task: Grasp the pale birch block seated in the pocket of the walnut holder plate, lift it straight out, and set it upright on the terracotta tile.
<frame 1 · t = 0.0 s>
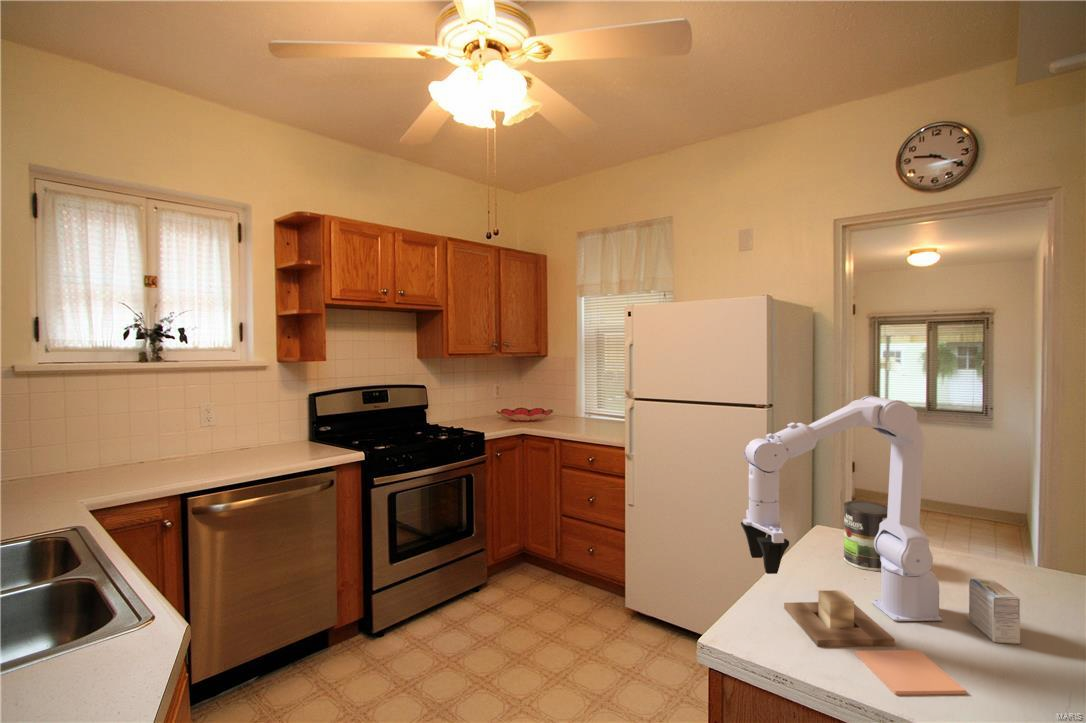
hand: (763, 564, 110), 10 cm above the counter, fingers open, 7 cm apart
coffee can: (867, 563, 134), on the counter
tile: (907, 672, 90), on the counter
medicine box: (993, 633, 102), on the counter
pocket plate: (835, 625, 106), on the counter
birch block: (835, 626, 106), resting in pocket plate
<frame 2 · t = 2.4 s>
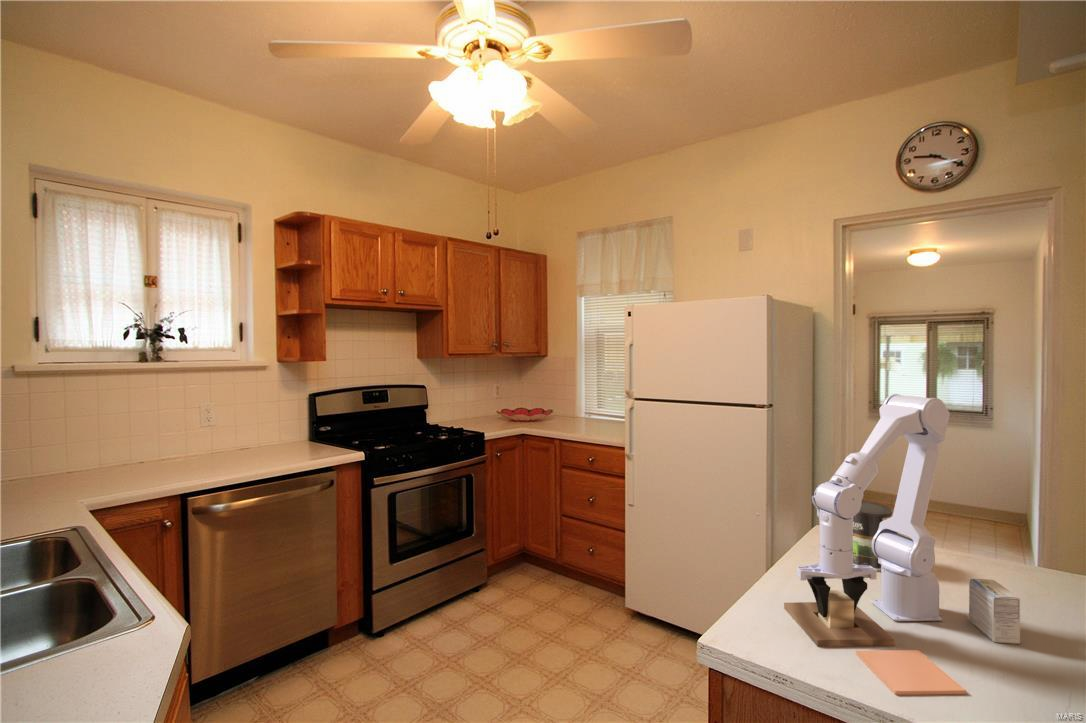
hand: (835, 614, 105), 2 cm above the counter, fingers closed on birch block, 4 cm apart
birch block: (835, 625, 106), resting in pocket plate, touching gripper
everything else where it was.
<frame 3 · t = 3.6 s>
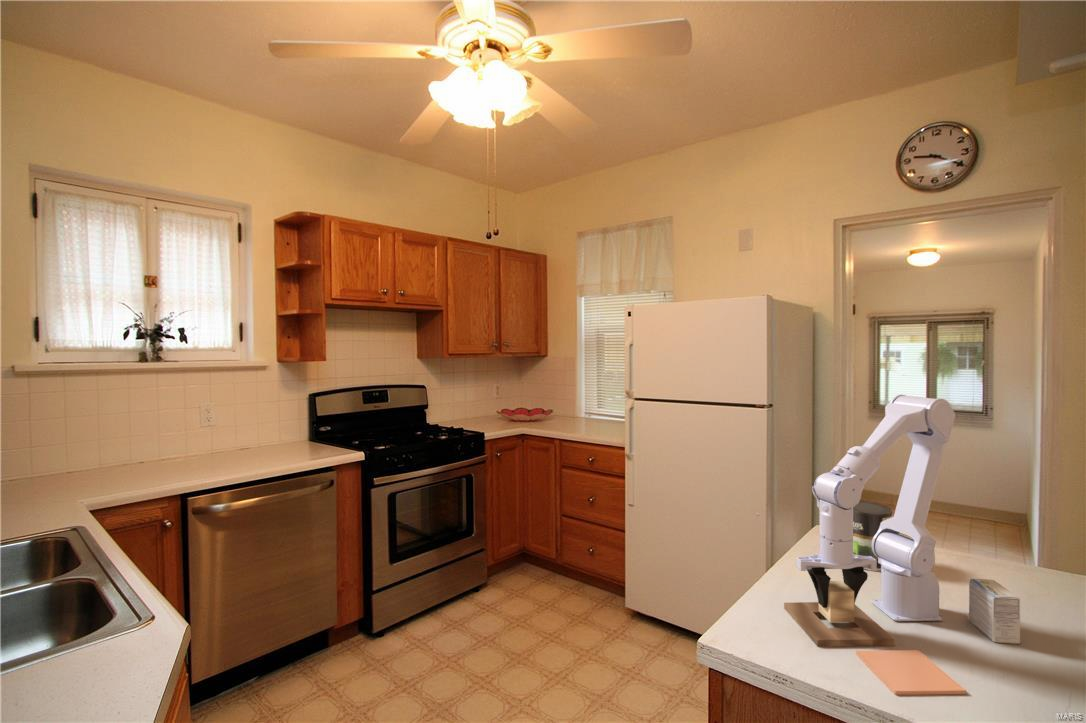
hand: (836, 605, 105), 4 cm above the counter, fingers closed on birch block, 4 cm apart
birch block: (835, 616, 105), point 2 cm above the counter, touching gripper
everything else where it was.
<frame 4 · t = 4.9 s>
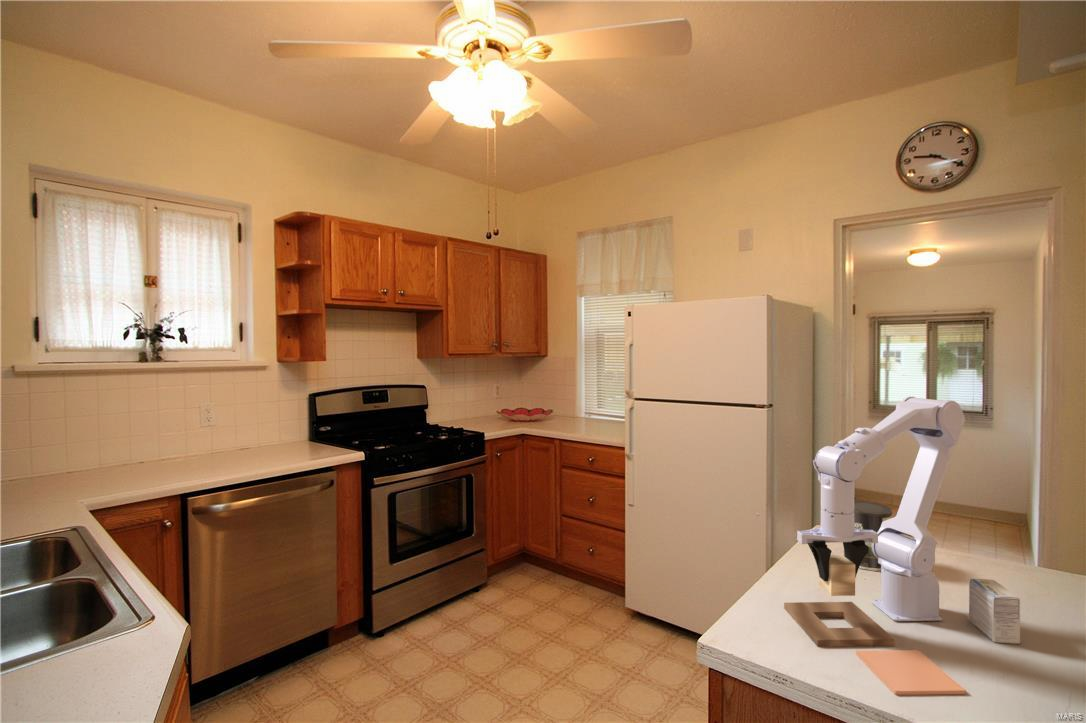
hand: (837, 578, 105), 9 cm above the counter, fingers closed on birch block, 4 cm apart
birch block: (836, 590, 105), point 7 cm above the counter, touching gripper
everything else where it was.
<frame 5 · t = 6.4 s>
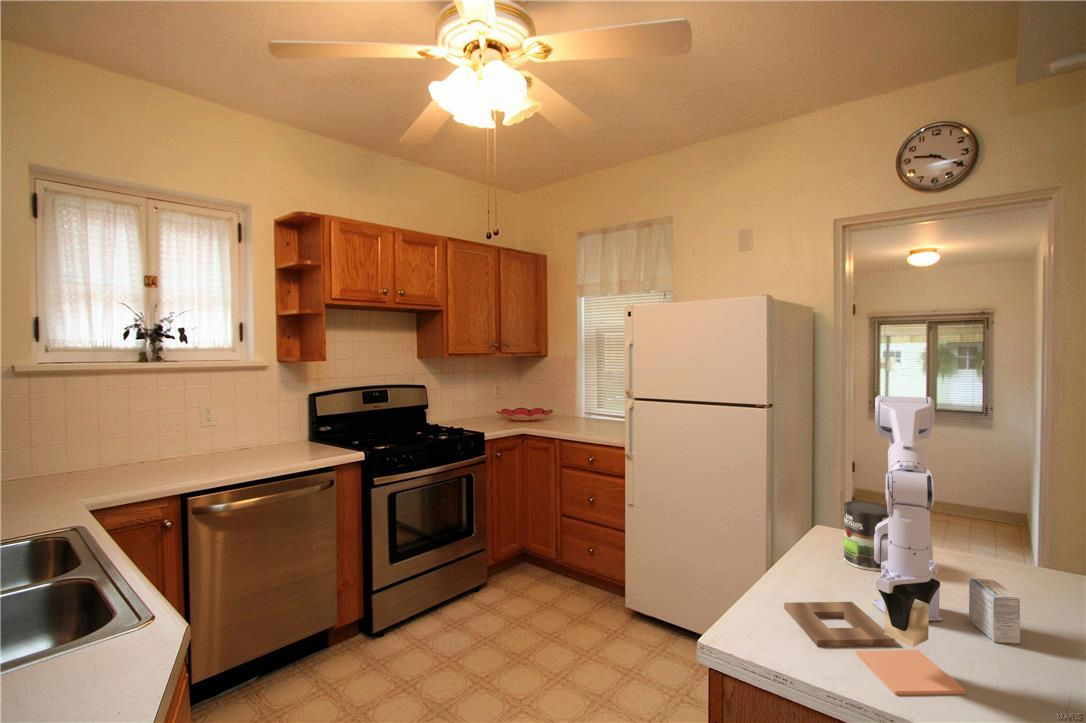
hand: (907, 624, 90), 8 cm above the counter, fingers closed on birch block, 4 cm apart
birch block: (906, 636, 90), point 6 cm above the counter, touching gripper
everything else where it was.
when the fingers open (4 cm above the counter, at t = 7.5 s): birch block drops 1 cm, resting on tile.
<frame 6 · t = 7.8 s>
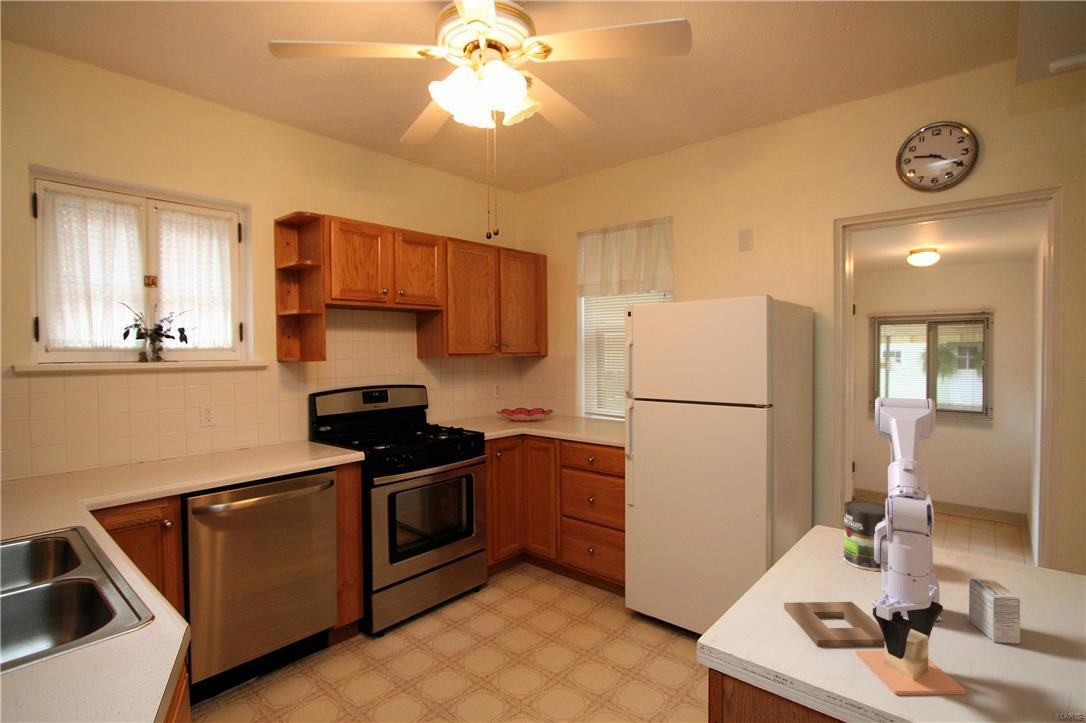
hand: (907, 649, 90), 4 cm above the counter, fingers open, 6 cm apart
birch block: (906, 668, 91), point 1 cm above the counter, touching tile
everything else where it was.
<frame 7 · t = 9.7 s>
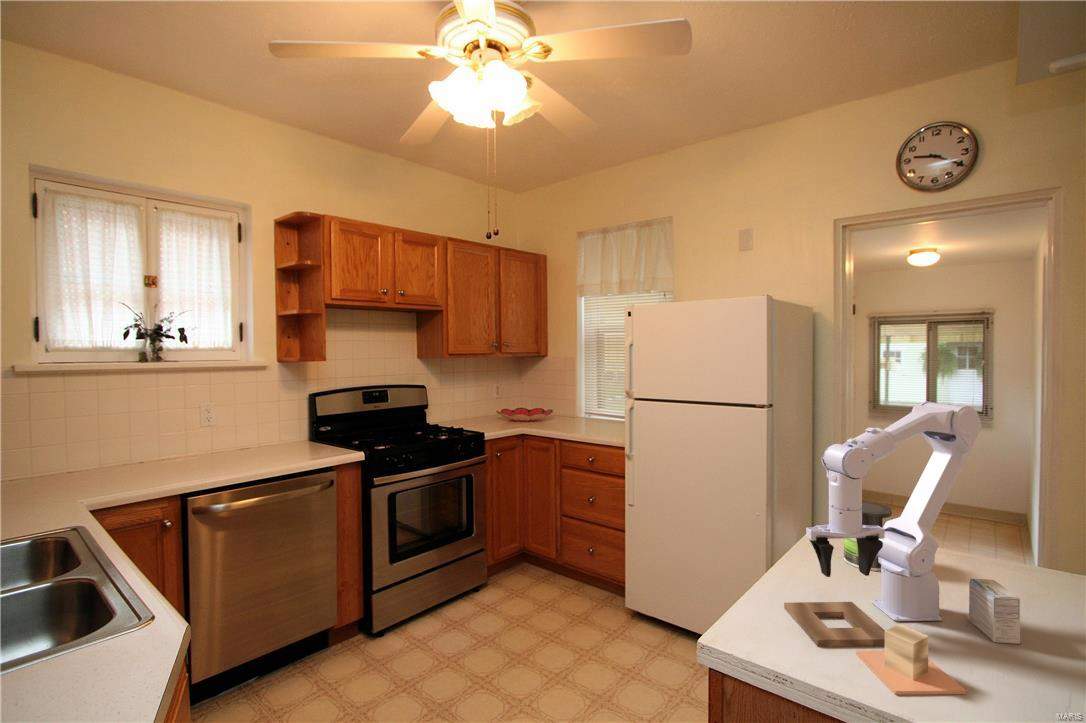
hand: (845, 574, 107), 9 cm above the counter, fingers open, 7 cm apart
nothing on the counter moved.
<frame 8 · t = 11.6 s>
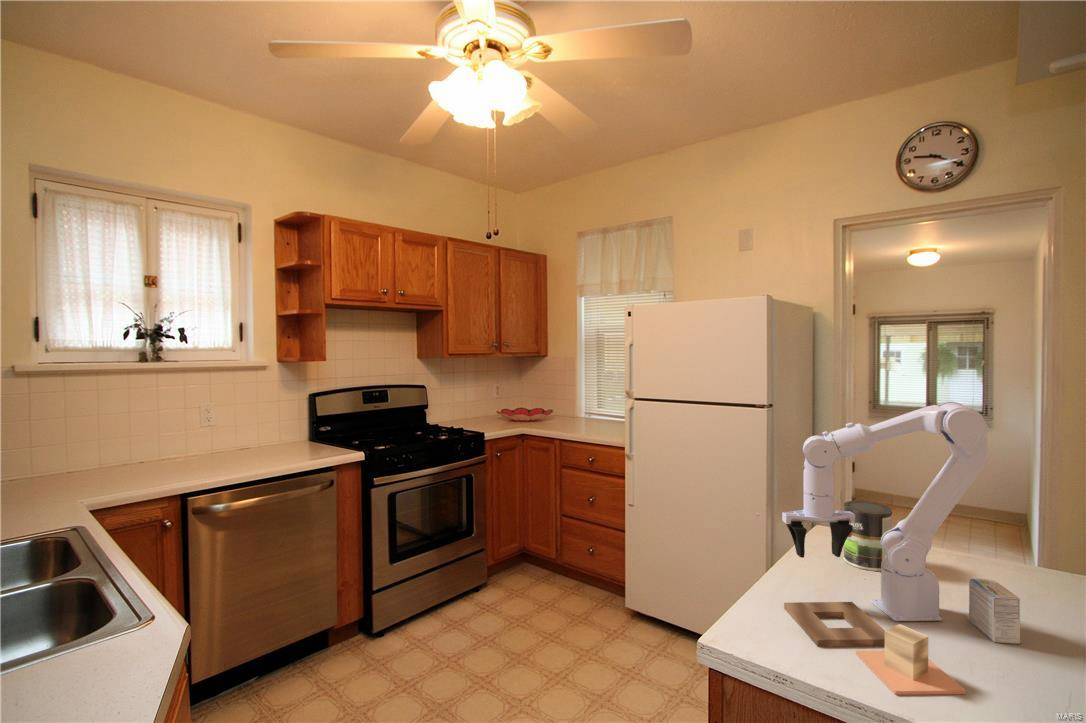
hand: (818, 555, 116), 9 cm above the counter, fingers open, 7 cm apart
nothing on the counter moved.
at the end: birch block 0.2 cm off-centre on the tile, point 0.6 cm above the tile's base; birch block tilted 0°; the gripper is holding nothing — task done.
